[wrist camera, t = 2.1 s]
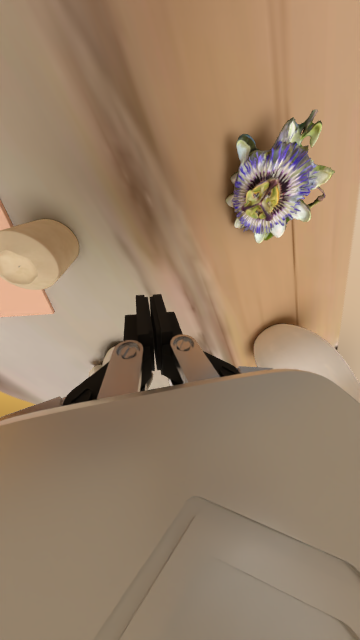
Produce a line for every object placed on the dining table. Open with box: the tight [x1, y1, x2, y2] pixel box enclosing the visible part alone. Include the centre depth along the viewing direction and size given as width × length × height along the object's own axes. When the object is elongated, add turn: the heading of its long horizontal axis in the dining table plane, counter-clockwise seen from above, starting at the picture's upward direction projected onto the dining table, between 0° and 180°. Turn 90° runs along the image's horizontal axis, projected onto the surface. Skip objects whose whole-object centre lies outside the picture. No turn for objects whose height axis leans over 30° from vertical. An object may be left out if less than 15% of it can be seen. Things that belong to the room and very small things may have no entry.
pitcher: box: [254, 324, 360, 403], centre depth 39 cm, size 24×17×28 cm
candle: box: [0, 219, 79, 290], centre depth 18 cm, size 6×6×10 cm
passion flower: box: [226, 110, 335, 243], centre depth 21 cm, size 11×11×12 cm
